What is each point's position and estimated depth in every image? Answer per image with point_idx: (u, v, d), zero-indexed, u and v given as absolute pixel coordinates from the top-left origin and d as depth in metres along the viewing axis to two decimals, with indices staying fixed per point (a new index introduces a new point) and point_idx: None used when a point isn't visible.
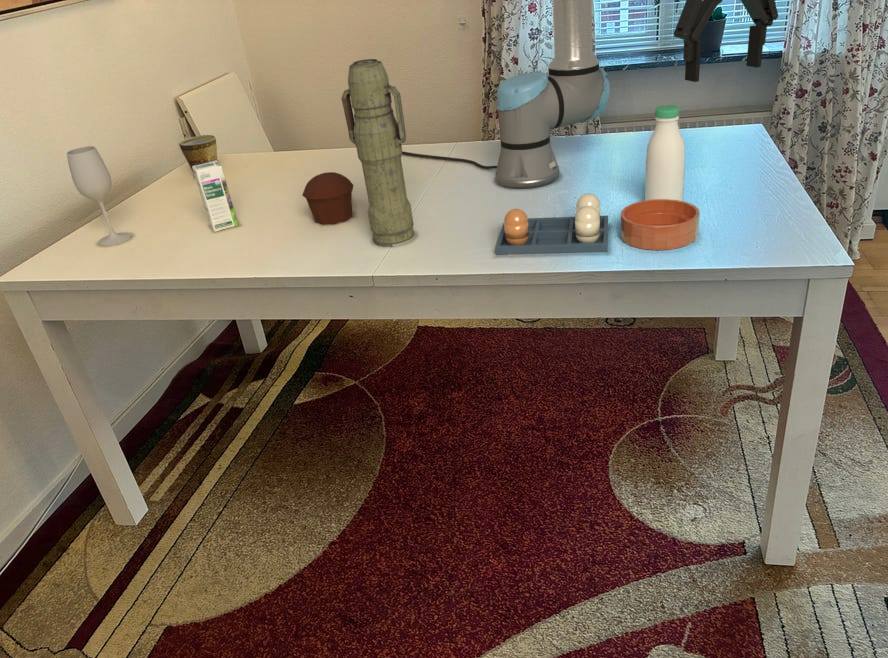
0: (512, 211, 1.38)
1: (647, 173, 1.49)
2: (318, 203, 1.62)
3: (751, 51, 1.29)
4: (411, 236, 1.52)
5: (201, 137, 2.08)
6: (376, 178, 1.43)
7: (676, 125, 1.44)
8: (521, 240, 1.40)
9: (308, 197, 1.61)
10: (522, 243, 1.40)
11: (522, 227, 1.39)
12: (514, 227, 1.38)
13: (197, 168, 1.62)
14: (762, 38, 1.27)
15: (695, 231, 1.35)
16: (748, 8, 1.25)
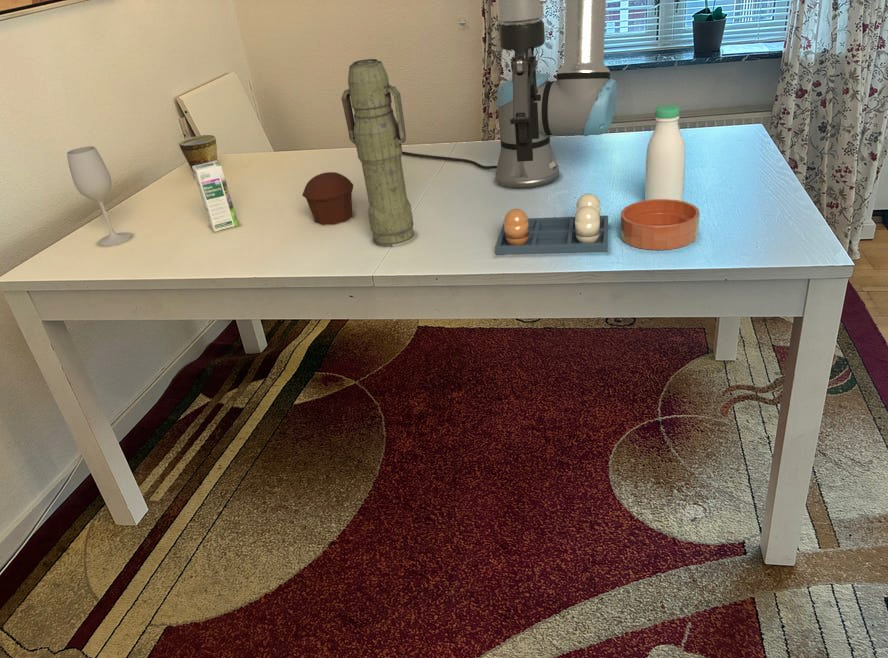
0: (512, 211, 1.38)
1: (647, 173, 1.49)
2: (318, 203, 1.62)
3: None
4: (411, 236, 1.52)
5: (201, 137, 2.08)
6: (376, 178, 1.43)
7: (676, 125, 1.44)
8: (521, 240, 1.40)
9: (308, 197, 1.61)
10: (522, 243, 1.40)
11: (522, 227, 1.39)
12: (514, 227, 1.38)
13: (197, 168, 1.62)
14: (537, 112, 1.36)
15: (695, 231, 1.35)
16: None
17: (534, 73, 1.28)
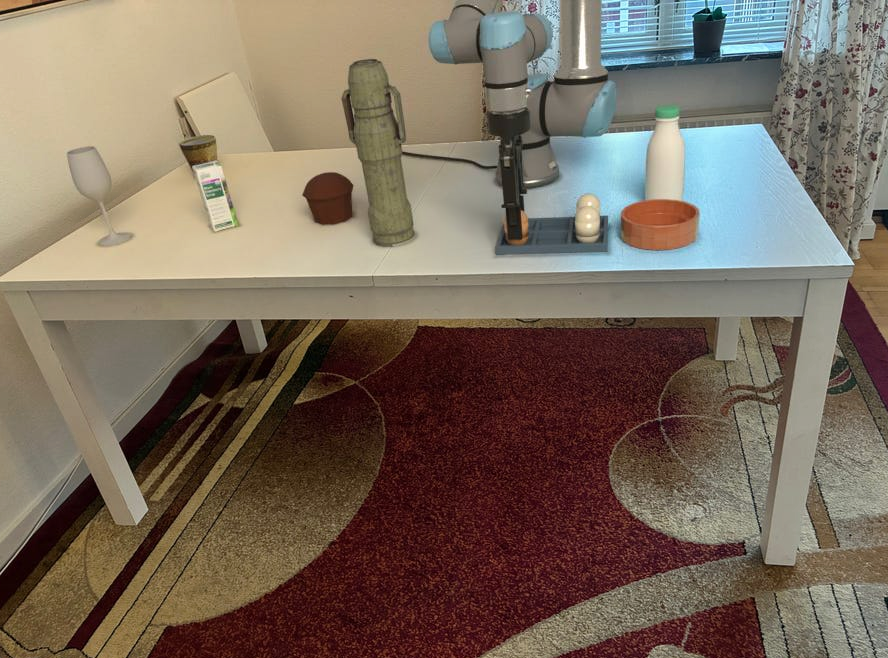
0: None
1: (647, 173, 1.49)
2: (318, 203, 1.62)
3: None
4: (411, 236, 1.52)
5: (201, 137, 2.08)
6: (376, 178, 1.43)
7: (676, 125, 1.44)
8: (521, 240, 1.40)
9: (308, 197, 1.61)
10: (522, 243, 1.40)
11: (522, 227, 1.39)
12: None
13: (197, 168, 1.62)
14: (523, 204, 1.41)
15: (695, 231, 1.35)
16: None
17: (520, 158, 1.35)
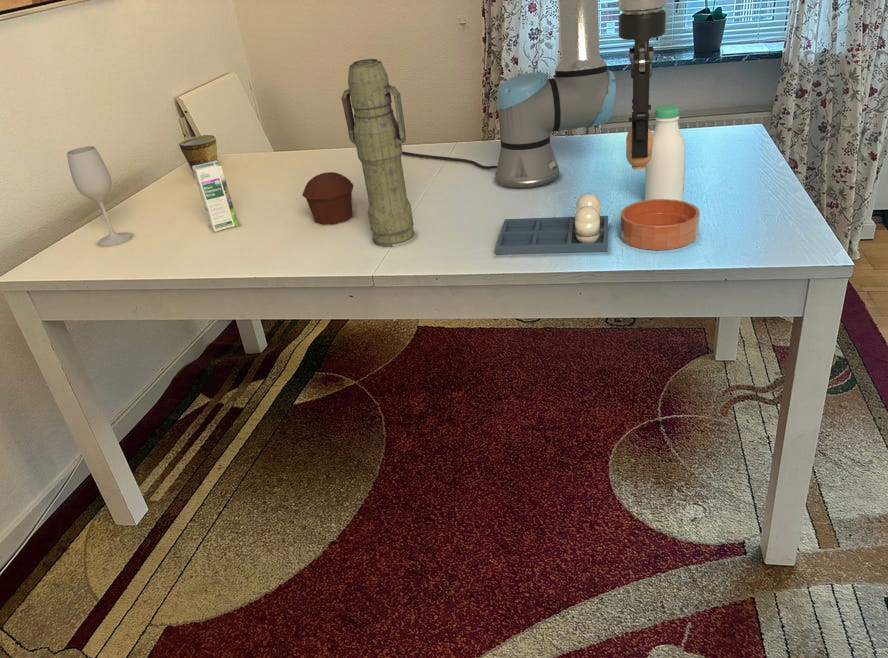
0: None
1: (647, 173, 1.49)
2: (318, 203, 1.62)
3: None
4: (411, 236, 1.52)
5: (201, 137, 2.08)
6: (376, 178, 1.43)
7: (676, 125, 1.44)
8: (645, 159, 1.30)
9: (308, 197, 1.61)
10: (645, 162, 1.31)
11: (648, 144, 1.29)
12: None
13: (197, 168, 1.62)
14: None
15: (695, 231, 1.35)
16: None
17: None
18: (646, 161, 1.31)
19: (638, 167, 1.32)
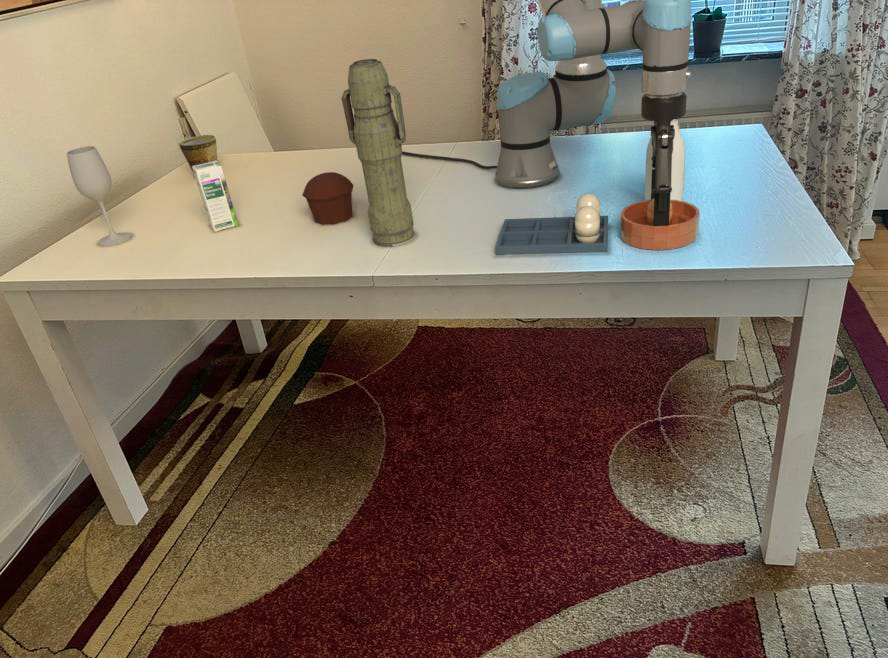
0: None
1: (647, 173, 1.49)
2: (318, 203, 1.62)
3: None
4: (411, 236, 1.52)
5: (201, 137, 2.08)
6: (376, 178, 1.43)
7: (676, 125, 1.44)
8: None
9: (308, 197, 1.61)
10: None
11: None
12: None
13: (197, 168, 1.62)
14: None
15: (695, 231, 1.35)
16: None
17: None
18: None
19: None
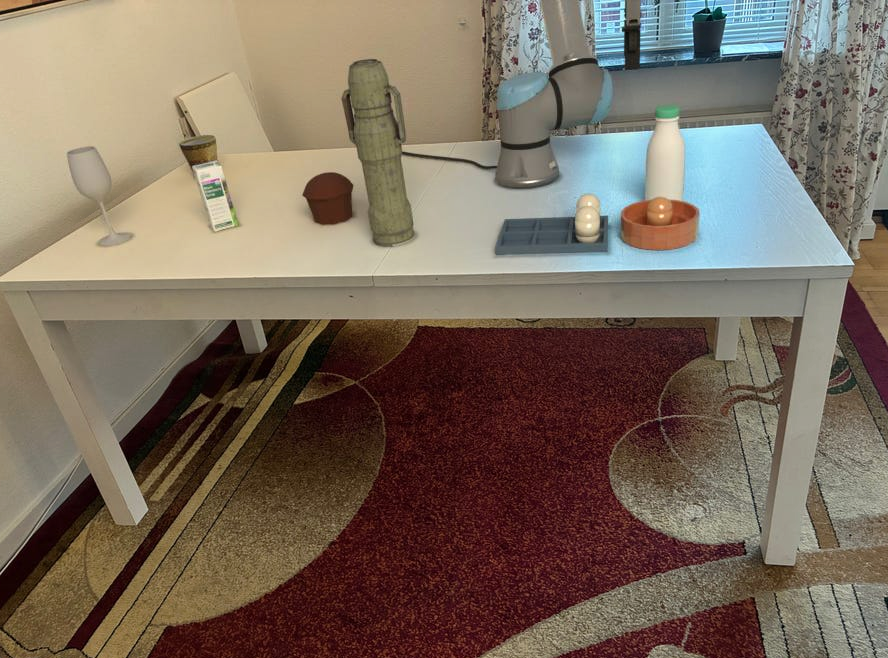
0: (657, 199, 1.36)
1: (647, 173, 1.49)
2: (318, 203, 1.62)
3: None
4: (411, 236, 1.52)
5: (201, 137, 2.08)
6: (376, 178, 1.43)
7: (676, 125, 1.44)
8: None
9: (308, 197, 1.61)
10: None
11: (668, 215, 1.36)
12: (660, 215, 1.35)
13: (197, 168, 1.62)
14: None
15: (695, 231, 1.35)
16: None
17: None
18: None
19: None
